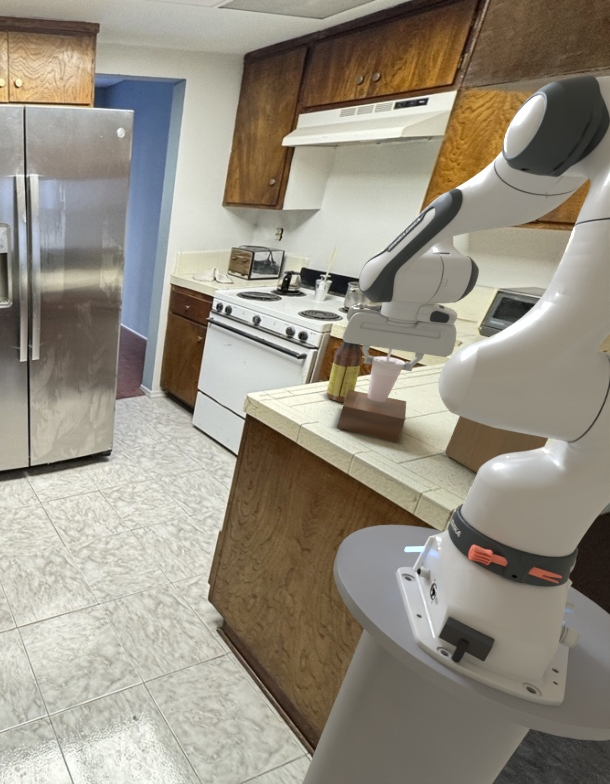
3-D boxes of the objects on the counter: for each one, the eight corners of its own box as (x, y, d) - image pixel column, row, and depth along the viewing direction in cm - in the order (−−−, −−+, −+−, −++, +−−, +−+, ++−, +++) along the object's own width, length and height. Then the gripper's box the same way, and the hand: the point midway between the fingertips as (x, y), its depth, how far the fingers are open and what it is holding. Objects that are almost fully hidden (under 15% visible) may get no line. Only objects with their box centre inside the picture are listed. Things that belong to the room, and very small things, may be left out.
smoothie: (354, 395, 114) (370, 340, 109) (373, 391, 116) (389, 337, 111) (381, 405, 109) (399, 348, 103) (399, 401, 111) (418, 345, 105)
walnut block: (397, 442, 108) (405, 419, 106) (336, 427, 115) (342, 405, 112) (398, 422, 117) (406, 401, 114) (342, 410, 123) (348, 389, 121)
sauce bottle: (352, 397, 131) (372, 328, 123) (350, 405, 126) (371, 334, 118) (325, 391, 134) (343, 324, 126) (322, 399, 130) (341, 330, 122)
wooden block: (484, 451, 104) (521, 368, 95) (531, 477, 95) (577, 387, 86) (441, 454, 103) (475, 369, 95) (485, 480, 94) (527, 389, 86)
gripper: (348, 305, 107) (333, 361, 113) (466, 318, 96) (443, 380, 101) (351, 300, 112) (337, 354, 117) (464, 311, 100) (442, 371, 106)
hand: (387, 366), depth 109 cm, fingers closed on smoothie, 6 cm apart
